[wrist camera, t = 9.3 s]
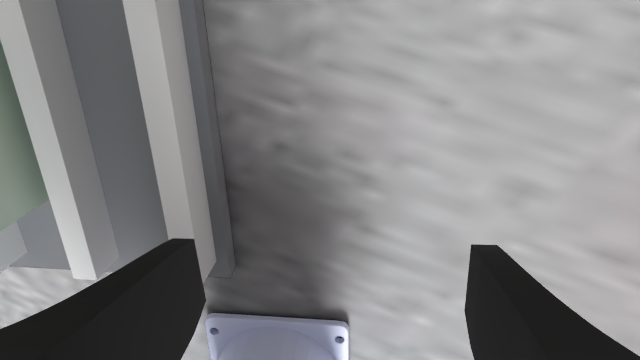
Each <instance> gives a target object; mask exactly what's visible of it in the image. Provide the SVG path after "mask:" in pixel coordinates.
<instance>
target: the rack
mask: <svg viewBox="0 0 640 360" xmlns="http://www.w3.org/2000/svg"><path fill="white" fill-rule="evenodd" d="M0 40H1V43H2V46H3V50H4V53H5V56H6V59H7V63H8V66H9V69H10V72H11V76H12V79H13V82H14V85H15V89H16V92H17V95H18V98H19V102H20V105H21V108H22V112H23V115H24V118H25V121H26V125H27V128H28V131H29V134H30V138H31V141H32V144H33V147H34V151H35V154H36V157H37V161H38V164H39V167H40V170H41V174H42V177H43V180H44V183H45V187H46V190H47V193H48V196H49V199H48V200H47V201H45V202H44V203H42V204H41V205H39V206H38V207H36V208H35V209H33V210H32V211H30V212H29V213H27V214H26V215H24V216H23V217H21V218H20V219H18V220H17V221H15V222H14V223H12V224H11V225H9V226H8V227H6V228H5V229H3V230H2V231H0V273H1V272H2V271H3V270H5V269H6V268H7V267H9V266H10V267H29V268H48V269H67V270H71V272H72V275H73V278H74V279H89V280H97V279H98V278H99V277H100V276H101V275H102V274H103V273H104V272H115V271H117V270H118V269H120V268H122V267H123V266H125V265H127V264H128V263H130V262H132V261H133V260H135V259H137V258H138V257H140V256H142V255H143V254H145V253H147V252H148V251H150V250H152V249H153V248H155V247H157V246H159V245H160V244H162V243H164V242H166V241H168V240H170V239H172V238H183V239H194V241H195V246H196V251H197V256H198V261H199V267H200V272H201V277H202V282H203V283H204V282H205V280H206V278H207V277H220V278H230V277H231V276H232V274H233V272H234V270H235V268H236V263H235V255H234V247H233V239H232V231H231V223H230V215H229V207H228V199H227V191H226V183H225V175H224V167H223V159H222V151H221V143H220V135H219V127H218V119H217V111H216V103H215V95H214V87H213V79H212V71H211V63H210V55H209V48H208V40H207V32H206V24H205V16H204V8H203V0H0Z"/></svg>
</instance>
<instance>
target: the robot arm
mask: <svg viewBox="0 0 640 360" xmlns="http://www.w3.org/2000/svg"><path fill="white" fill-rule="evenodd" d="M205 302H206V298H205V293H204V288H203V282H202V277H201V272H200V267H199V261H198V256H197V251H196V246H195V241H194V239H183V238H172V239H170V240H168V241H166V242H164V243H162V244H160V245H159V246H157V247H155V248H153V249H152V250H150V251H148V252H147V253H145V254H143V255H142V256H140V257H138V258H137V259H135V260H133V261H132V262H130V263H128V264H127V265H125V266H123V267H122V268H120V269H118V270H117V271H115V272H114V273H112V274H110V275H108V276H107V277H105V278H103V279H101V280H100V281H98V282H96V283H94V284H93V285H91V286H89V287H87V288H85V289H84V290H82V291H80V292H78V293H76V294H75V295H73V296H71V297H69V298H67V299H65V300H63V301H61V302H59V303H57V304H55V305H53V306H51V307H49V308H47V309H45V310H43V311H41V312H39V313H37V314H34V315H32V316H30V317H28V318H26V319H24V320H21V321H19V322H17V323H14V324H12V325H9V326H7V327H4V328H2V329H0V360H181V358H182V356H183V354H184V352H185V350H186V348H187V346H188V344H189V343H190V341H191V339H192V337H193V335H194V332H195V330H196V327H197V324H198V322H199V319H200V316H201V313H202V310H203V307H204V304H205ZM465 316H466V322H467V328H468V334H469V339H470V345H471V349H472V353H473V356H474V360H640V356H638V355H636V354H635V353H633V352H632V351H630V350H629V349H627V348H626V347H624V346H623V345H621V344H619V343H618V342H616V341H615V340H613V339H612V338H610V337H609V336H607V335H606V334H604V333H603V332H601V331H600V330H599V329H597V328H596V327H594V326H593V325H591V324H590V323H589V322H587V321H586V320H585V319H583V318H582V317H581V316H579V315H578V314H577V313H576V312H574V311H573V310H572V309H570V308H569V307H568V306H566V305H565V304H564V303H563V302H561V301H560V300H559V299H558V298H556V297H555V296H554V295H553V294H552V293H550V292H549V291H548V290H547V289H546V288H545V287H543V286H542V285H541V284H540V283H539V282H538V281H536V280H535V279H534V278H533V277H532V276H531V275H530V274H529V273H527V272H526V271H525V270H524V269H523V268H522V267H521V266H520V265H519V264H518V263H516V262H515V261H514V260H513V259H512V258H511V257H510V256H509V255H508V254H507V253H506V252H504V251H503V250H502V249H501V248H500V247H499V246H498V245H471V253H470V263H469V273H468V283H467V293H466V303H465ZM205 327H206V333H207V339H208V345H209V351H210V357H211V360H349V326H348V325H347V323H345V322H343V321H335V320H319V319H302V318H286V317H270V316H254V315H238V314H222V313H211V314H209V315H208V316H207V318H206V320H205ZM214 328H216V329H218V330H215V329H214ZM337 336H341V337H343V338H337Z"/></svg>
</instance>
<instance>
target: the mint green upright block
mask: <svg viewBox="0 0 640 360" xmlns="http://www.w3.org/2000/svg"><path fill="white" fill-rule="evenodd" d="M48 199H49V196H48V193H47V190H46V187H45V183H44V180H43V177H42V174H41V170H40V167H39V164H38V161H37V157H36V154H35V151H34V147H33V144H32V141H31V138H30V134H29V131H28V128H27V125H26V121H25V118H24V115H23V112H22V108H21V105H20V102H19V98H18V95H17V92H16V89H15V85H14V82H13V79H12V76H11V72H10V69H9V66H8V63H7V59H6V56H5V53H4V50H3V46H2V43H1V40H0V231H2V230H3V229H5V228H6V227H8V226H9V225H11V224H12V223H14V222H15V221H17V220H18V219H20V218H21V217H23V216H24V215H26V214H27V213H29V212H30V211H32V210H33V209H35V208H36V207H38V206H39V205H41V204H42V203H44V202H45V201H47V200H48Z"/></svg>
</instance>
